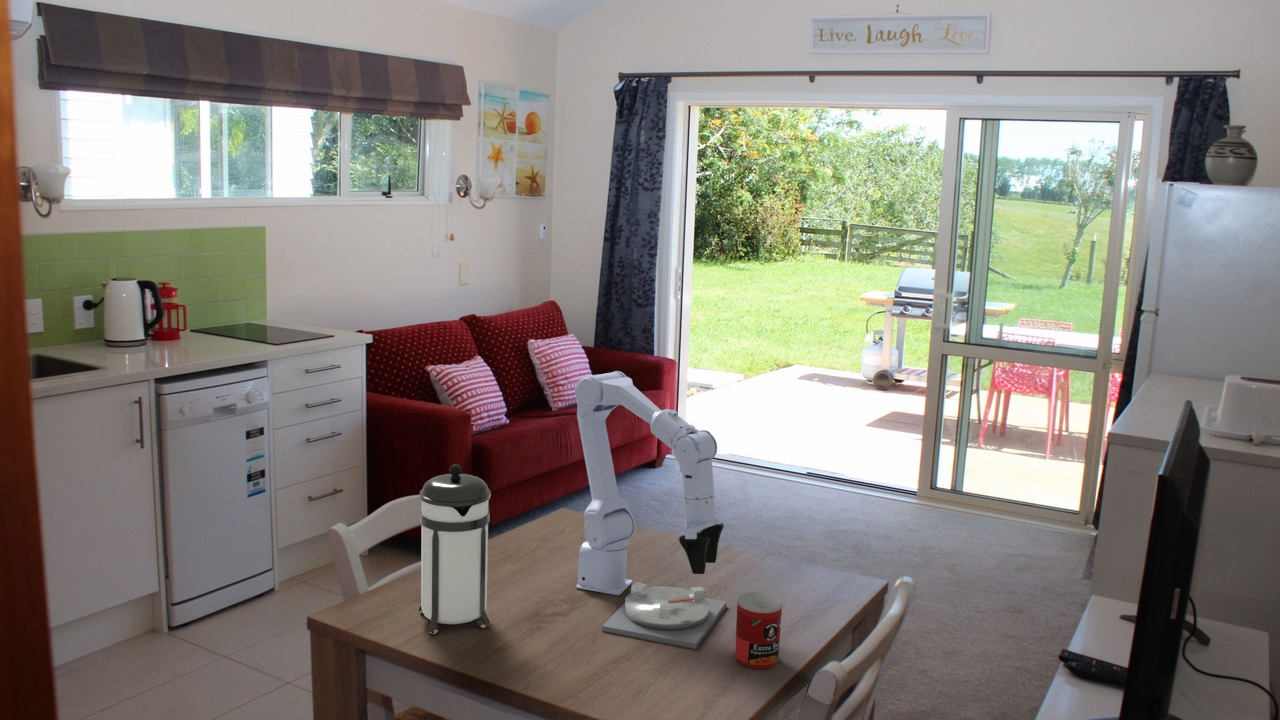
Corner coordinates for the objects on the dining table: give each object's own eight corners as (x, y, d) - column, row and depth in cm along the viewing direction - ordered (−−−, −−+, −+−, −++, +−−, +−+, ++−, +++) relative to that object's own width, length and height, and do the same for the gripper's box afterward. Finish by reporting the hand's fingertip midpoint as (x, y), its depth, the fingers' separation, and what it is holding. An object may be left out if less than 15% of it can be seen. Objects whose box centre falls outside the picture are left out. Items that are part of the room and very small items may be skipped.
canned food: (750, 673, 176) (754, 612, 174) (725, 654, 182) (728, 595, 181) (787, 665, 179) (791, 605, 177) (761, 646, 186) (765, 588, 184)
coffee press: (513, 613, 196) (516, 460, 191) (461, 644, 182) (462, 480, 177) (441, 593, 204) (442, 446, 199) (385, 622, 190) (385, 464, 185)
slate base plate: (602, 631, 190) (602, 624, 190) (640, 591, 209) (640, 585, 209) (695, 648, 184) (695, 642, 184) (726, 606, 203) (726, 600, 203)
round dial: (612, 620, 192) (613, 601, 191) (641, 590, 207) (642, 572, 206) (694, 636, 186) (695, 616, 186) (718, 604, 201) (719, 585, 201)
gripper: (709, 504, 185) (714, 579, 185) (729, 488, 198) (734, 557, 199) (671, 504, 187) (677, 578, 188) (694, 488, 201) (699, 557, 201)
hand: (704, 567), depth 194 cm, fingers open, 7 cm apart
